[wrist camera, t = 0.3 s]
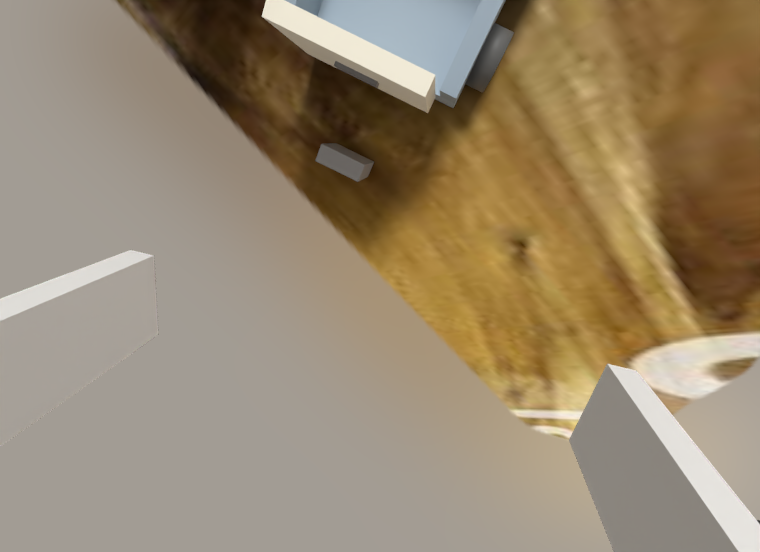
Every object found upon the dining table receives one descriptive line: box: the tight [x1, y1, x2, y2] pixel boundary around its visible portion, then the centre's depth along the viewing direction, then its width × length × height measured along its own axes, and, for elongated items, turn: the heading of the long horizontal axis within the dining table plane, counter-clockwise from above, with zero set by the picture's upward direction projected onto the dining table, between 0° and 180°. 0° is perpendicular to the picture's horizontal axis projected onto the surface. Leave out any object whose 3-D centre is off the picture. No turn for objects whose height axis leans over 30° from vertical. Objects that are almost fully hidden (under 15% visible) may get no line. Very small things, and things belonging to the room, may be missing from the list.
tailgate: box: [262, 0, 435, 113], centre depth 24 cm, size 2×10×8 cm, turn 65°
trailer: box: [285, 0, 514, 182], centre depth 26 cm, size 24×16×12 cm
